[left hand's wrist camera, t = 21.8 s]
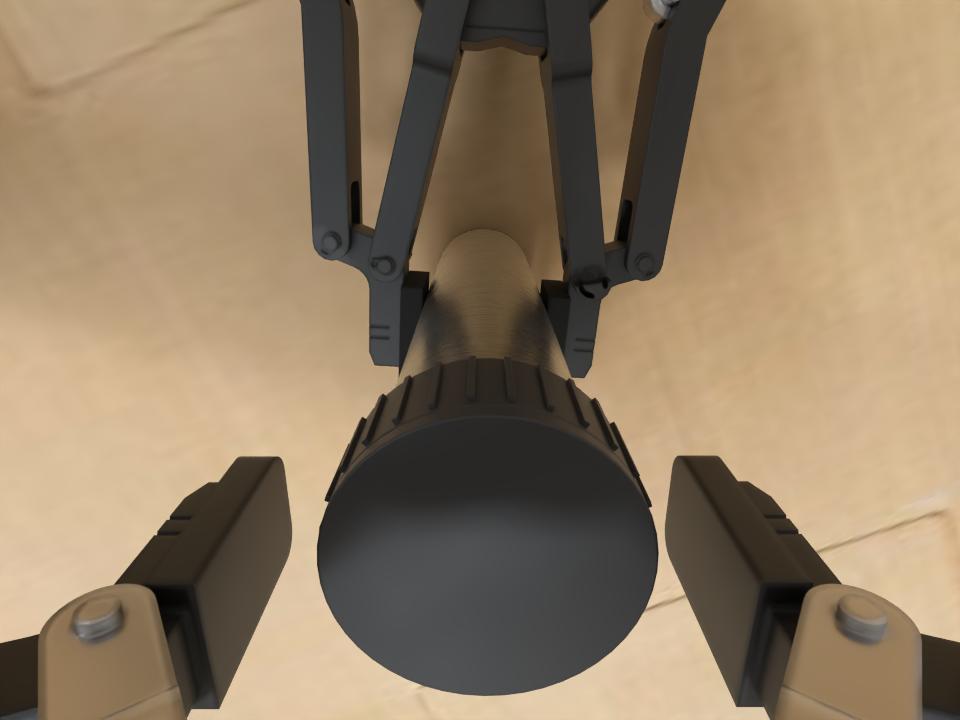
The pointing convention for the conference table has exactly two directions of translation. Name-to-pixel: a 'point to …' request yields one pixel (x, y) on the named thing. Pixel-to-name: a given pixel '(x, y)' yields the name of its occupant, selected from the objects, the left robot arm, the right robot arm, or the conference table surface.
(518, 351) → the tan cylinder
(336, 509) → the lid
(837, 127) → the conference table surface
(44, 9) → the conference table surface
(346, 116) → the right robot arm
